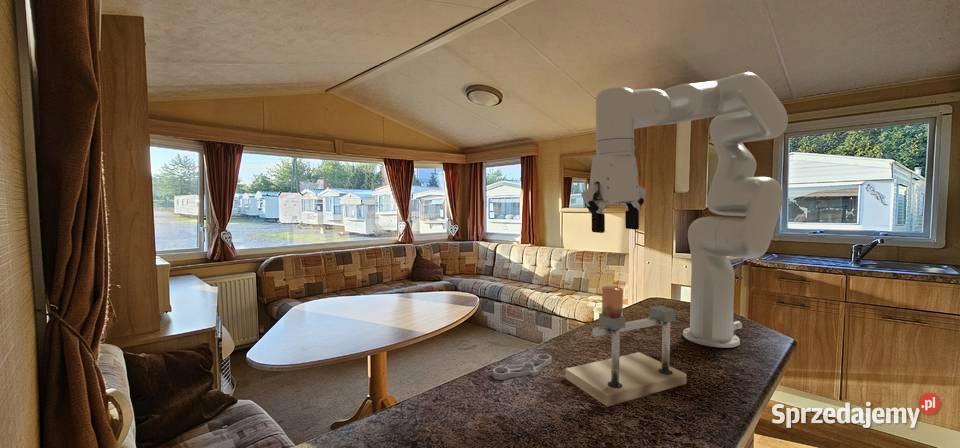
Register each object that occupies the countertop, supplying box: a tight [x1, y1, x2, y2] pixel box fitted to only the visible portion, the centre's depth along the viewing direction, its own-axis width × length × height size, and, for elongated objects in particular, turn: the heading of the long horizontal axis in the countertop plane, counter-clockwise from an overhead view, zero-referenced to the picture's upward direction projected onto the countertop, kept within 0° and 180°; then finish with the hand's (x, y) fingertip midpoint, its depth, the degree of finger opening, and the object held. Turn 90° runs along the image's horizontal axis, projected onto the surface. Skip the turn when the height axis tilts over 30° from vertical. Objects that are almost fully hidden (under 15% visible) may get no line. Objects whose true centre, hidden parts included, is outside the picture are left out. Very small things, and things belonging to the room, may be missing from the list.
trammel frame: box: [592, 305, 677, 373], centre depth 75 cm, size 18×4×12 cm, turn 114°
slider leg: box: [598, 285, 627, 385], centre depth 72 cm, size 4×4×18 cm
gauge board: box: [564, 351, 687, 407], centre depth 78 cm, size 20×12×2 cm, turn 114°
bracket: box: [492, 353, 552, 381], centre depth 83 cm, size 8×2×15 cm
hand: (615, 230), depth 83 cm, fingers open, 9 cm apart
